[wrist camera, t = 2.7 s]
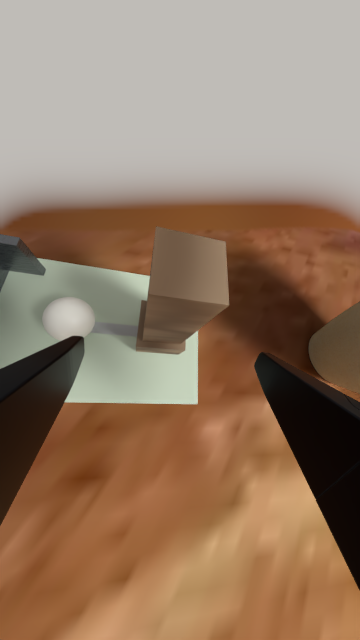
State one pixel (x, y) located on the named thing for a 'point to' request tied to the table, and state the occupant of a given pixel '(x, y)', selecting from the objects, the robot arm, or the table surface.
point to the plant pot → (339, 350)
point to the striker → (181, 290)
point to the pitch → (97, 335)
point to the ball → (68, 318)
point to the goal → (17, 258)
